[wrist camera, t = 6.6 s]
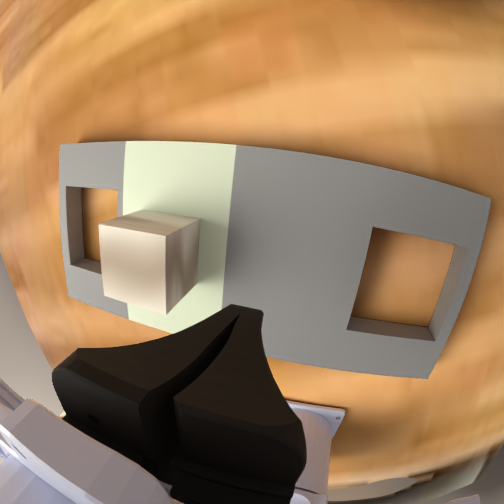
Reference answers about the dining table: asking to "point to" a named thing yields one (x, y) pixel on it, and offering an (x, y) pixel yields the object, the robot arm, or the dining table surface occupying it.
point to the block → (149, 258)
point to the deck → (279, 243)
